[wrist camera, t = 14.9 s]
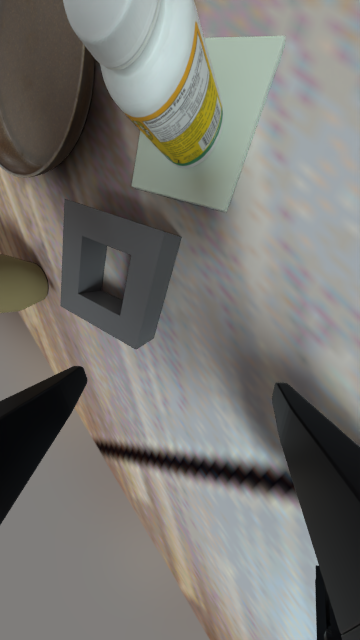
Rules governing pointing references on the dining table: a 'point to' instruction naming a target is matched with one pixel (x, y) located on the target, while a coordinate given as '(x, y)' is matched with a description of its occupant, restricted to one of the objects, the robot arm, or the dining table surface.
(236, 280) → the dining table surface
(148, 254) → the holder
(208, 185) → the tile
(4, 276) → the squeeze bottle
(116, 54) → the supplement bottle
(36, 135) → the plant saucer
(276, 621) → the dining table surface
